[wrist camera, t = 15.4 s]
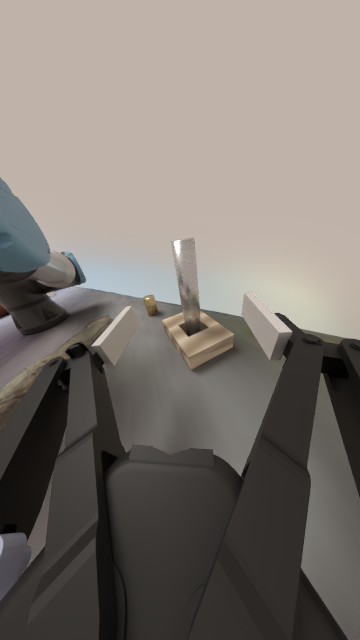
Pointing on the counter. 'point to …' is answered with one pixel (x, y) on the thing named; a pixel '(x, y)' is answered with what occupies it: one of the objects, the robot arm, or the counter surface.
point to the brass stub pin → (150, 305)
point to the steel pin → (187, 283)
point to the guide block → (198, 339)
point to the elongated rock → (10, 396)
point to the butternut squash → (2, 311)
